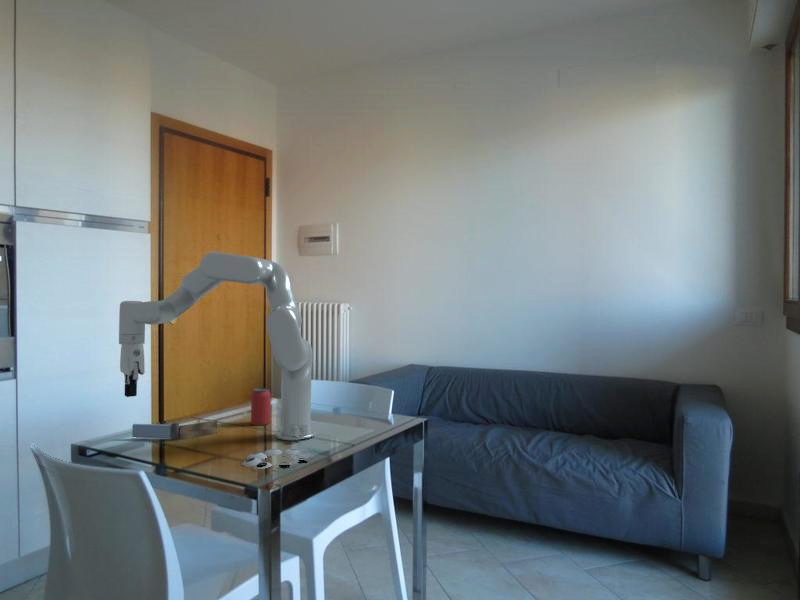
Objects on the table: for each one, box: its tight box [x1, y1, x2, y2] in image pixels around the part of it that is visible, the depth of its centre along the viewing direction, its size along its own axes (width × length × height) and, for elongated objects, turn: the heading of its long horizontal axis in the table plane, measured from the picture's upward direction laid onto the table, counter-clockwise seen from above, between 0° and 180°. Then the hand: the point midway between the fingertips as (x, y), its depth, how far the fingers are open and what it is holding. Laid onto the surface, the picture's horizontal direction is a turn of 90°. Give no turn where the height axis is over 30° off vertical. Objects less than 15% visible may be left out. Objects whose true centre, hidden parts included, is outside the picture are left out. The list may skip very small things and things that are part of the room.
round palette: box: [241, 448, 307, 469], centre depth 153 cm, size 20×20×2 cm
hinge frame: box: [171, 420, 218, 441], centre depth 178 cm, size 14×2×5 cm, turn 132°
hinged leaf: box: [131, 423, 172, 439], centre depth 174 cm, size 12×1×4 cm, turn 87°
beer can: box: [250, 387, 272, 426], centre depth 197 cm, size 7×7×12 cm
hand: (130, 396), depth 180 cm, fingers closed
